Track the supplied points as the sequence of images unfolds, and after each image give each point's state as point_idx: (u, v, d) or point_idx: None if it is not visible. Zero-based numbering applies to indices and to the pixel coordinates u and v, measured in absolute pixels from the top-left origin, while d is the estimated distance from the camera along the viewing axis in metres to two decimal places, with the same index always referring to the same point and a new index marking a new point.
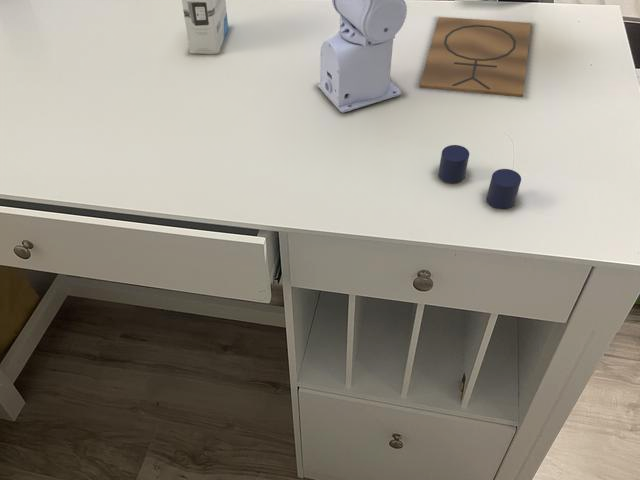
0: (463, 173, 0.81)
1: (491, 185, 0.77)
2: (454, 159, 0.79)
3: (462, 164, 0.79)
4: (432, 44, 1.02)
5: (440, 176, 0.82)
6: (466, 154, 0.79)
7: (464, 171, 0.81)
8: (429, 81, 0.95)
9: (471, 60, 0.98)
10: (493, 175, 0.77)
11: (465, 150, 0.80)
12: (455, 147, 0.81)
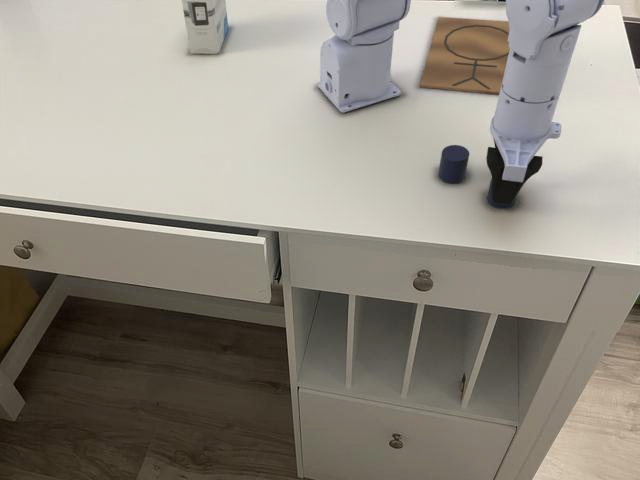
0: (463, 173, 0.81)
1: (491, 185, 0.77)
2: (454, 159, 0.79)
3: (462, 164, 0.79)
4: (432, 44, 1.02)
5: (440, 176, 0.82)
6: (466, 154, 0.79)
7: (464, 171, 0.81)
8: (429, 81, 0.95)
9: (471, 60, 0.98)
10: None
11: (465, 150, 0.80)
12: (455, 147, 0.81)
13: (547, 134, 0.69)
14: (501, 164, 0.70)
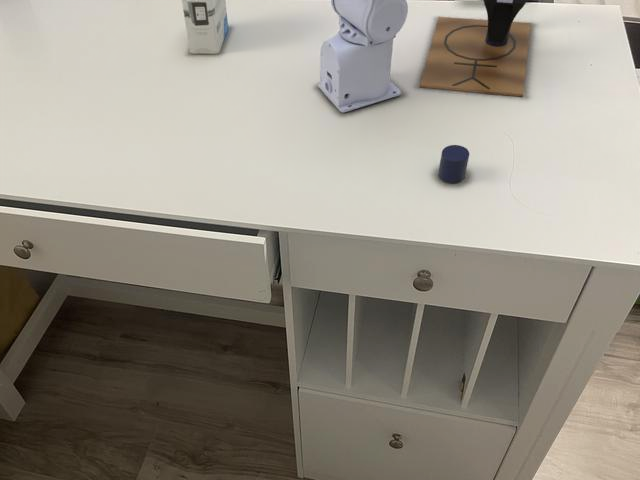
0: (463, 173, 0.81)
1: None
2: (454, 159, 0.79)
3: (462, 164, 0.79)
4: (432, 44, 1.02)
5: (440, 176, 0.82)
6: (466, 154, 0.79)
7: (464, 171, 0.81)
8: (429, 81, 0.95)
9: (471, 60, 0.98)
10: None
11: (465, 150, 0.80)
12: (455, 147, 0.81)
13: None
14: (495, 1, 0.91)
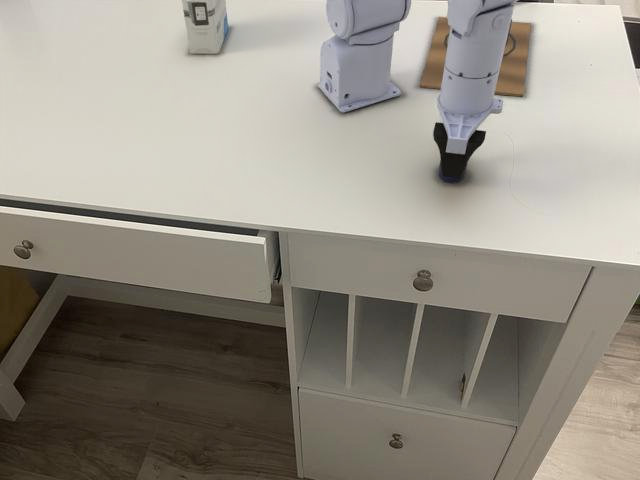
0: (463, 173, 0.81)
1: None
2: None
3: None
4: (432, 44, 1.02)
5: (440, 176, 0.82)
6: None
7: (464, 171, 0.81)
8: (429, 81, 0.95)
9: None
10: None
11: None
12: None
13: (489, 109, 0.73)
14: (446, 138, 0.74)
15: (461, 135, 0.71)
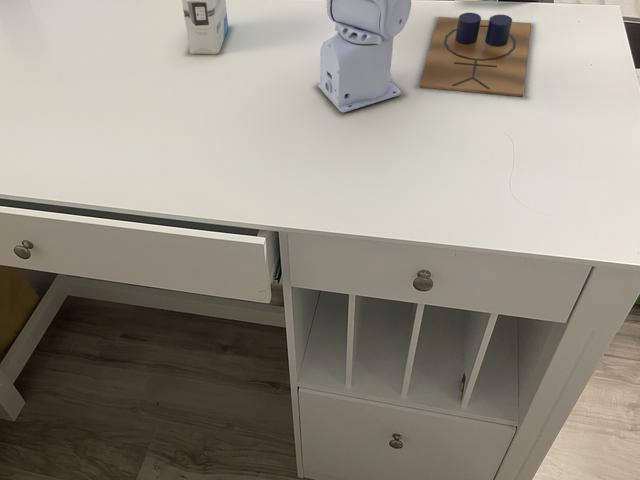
0: (476, 35, 1.00)
1: (489, 26, 0.99)
2: (468, 22, 0.98)
3: (475, 25, 0.99)
4: (432, 44, 1.02)
5: (457, 39, 1.01)
6: (478, 18, 0.99)
7: (477, 33, 1.00)
8: (429, 81, 0.95)
9: (471, 60, 0.98)
10: (490, 18, 0.99)
11: (477, 15, 0.99)
12: (469, 14, 1.00)
13: None
14: None
15: None
